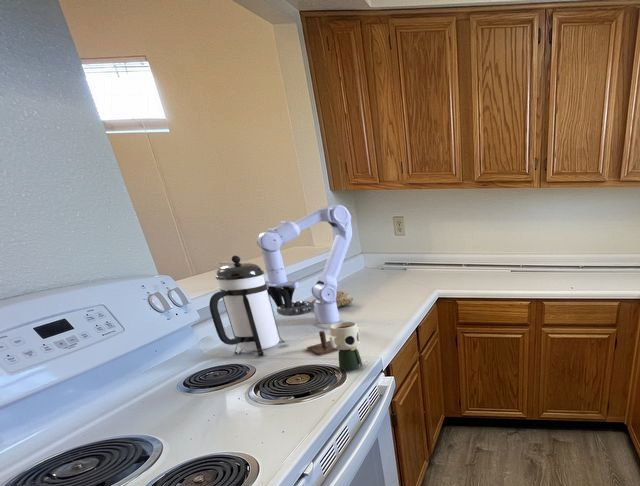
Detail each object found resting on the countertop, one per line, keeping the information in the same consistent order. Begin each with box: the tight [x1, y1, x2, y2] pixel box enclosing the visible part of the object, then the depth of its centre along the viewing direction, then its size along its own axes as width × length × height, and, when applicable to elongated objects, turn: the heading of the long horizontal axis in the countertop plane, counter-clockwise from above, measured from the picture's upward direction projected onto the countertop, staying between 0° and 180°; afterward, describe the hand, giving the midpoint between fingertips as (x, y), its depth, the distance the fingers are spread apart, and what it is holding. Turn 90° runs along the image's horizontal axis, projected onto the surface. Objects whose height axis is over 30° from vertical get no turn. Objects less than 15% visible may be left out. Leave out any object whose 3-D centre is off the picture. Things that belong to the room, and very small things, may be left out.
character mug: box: [329, 320, 363, 372], centre depth 117 cm, size 11×7×13 cm, turn 157°
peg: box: [306, 330, 339, 356], centre depth 134 cm, size 8×8×6 cm
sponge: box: [311, 291, 354, 308], centre depth 180 cm, size 13×8×20 cm
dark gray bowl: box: [276, 300, 315, 317], centre depth 147 cm, size 12×12×3 cm
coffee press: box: [209, 255, 285, 358], centre depth 129 cm, size 17×16×30 cm
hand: (284, 307), depth 148 cm, fingers closed on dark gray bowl, 3 cm apart
